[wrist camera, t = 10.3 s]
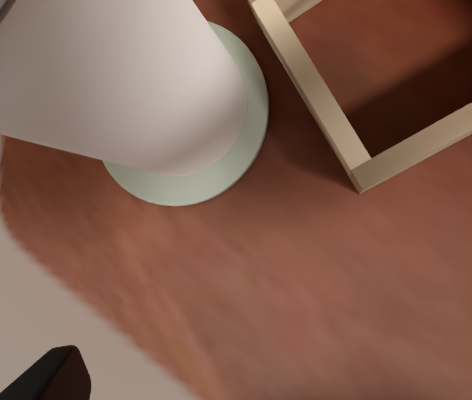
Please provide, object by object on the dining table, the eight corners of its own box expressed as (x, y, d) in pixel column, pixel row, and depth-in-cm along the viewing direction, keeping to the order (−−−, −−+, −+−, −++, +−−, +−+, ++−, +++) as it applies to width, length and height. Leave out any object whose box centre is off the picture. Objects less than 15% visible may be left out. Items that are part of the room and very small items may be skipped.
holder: (582, 74, 15) (639, 38, 12) (359, 194, 17) (362, 189, 14) (446, -105, 16) (468, -175, 13) (257, 24, 18) (241, -13, 15)
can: (137, 193, 19) (-192, 150, 7) (111, 69, 20) (-225, -147, 8) (265, 155, 17) (100, 22, 6) (231, 22, 18) (24, -336, 6)
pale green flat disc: (305, 144, 17) (303, 141, 17) (145, 238, 19) (139, 239, 19) (214, -12, 19) (209, -20, 18) (74, 90, 21) (66, 86, 20)
